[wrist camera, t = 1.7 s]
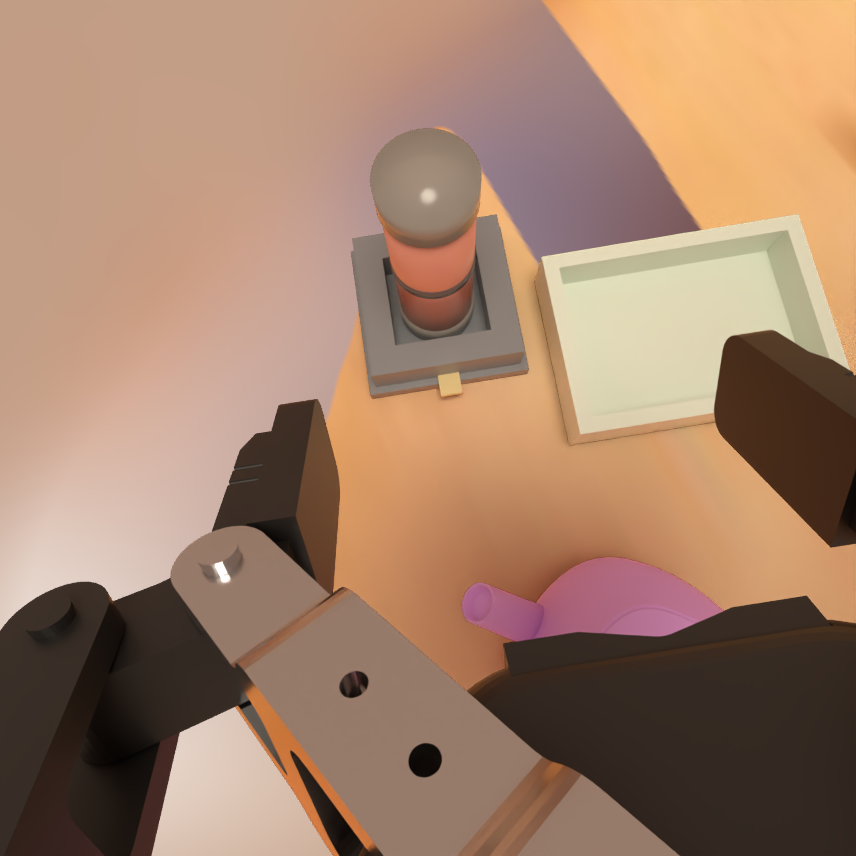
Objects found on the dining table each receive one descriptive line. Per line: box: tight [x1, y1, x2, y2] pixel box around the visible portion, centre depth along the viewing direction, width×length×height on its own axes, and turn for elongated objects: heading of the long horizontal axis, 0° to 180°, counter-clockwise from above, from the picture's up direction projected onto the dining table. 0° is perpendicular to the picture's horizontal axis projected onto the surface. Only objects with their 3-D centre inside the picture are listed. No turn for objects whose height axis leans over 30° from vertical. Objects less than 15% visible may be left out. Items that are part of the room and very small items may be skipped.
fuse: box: [370, 128, 481, 341], centre depth 28 cm, size 4×4×12 cm
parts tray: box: [535, 214, 850, 445], centre depth 32 cm, size 14×10×3 cm
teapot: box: [462, 557, 724, 642], centre depth 25 cm, size 10×15×9 cm
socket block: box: [351, 214, 529, 399], centre depth 33 cm, size 9×11×3 cm
